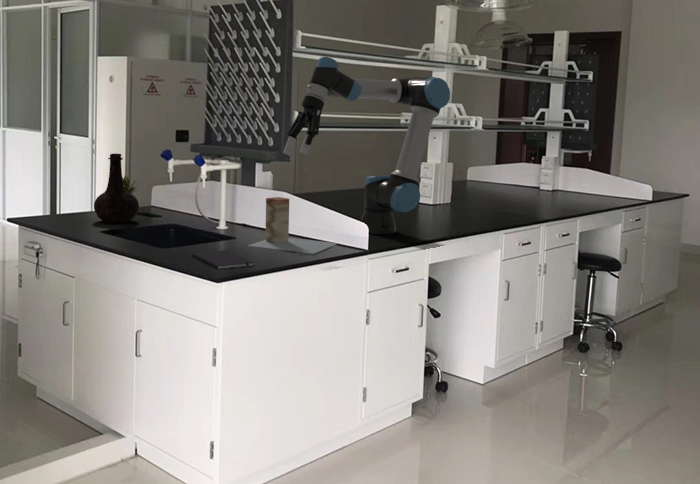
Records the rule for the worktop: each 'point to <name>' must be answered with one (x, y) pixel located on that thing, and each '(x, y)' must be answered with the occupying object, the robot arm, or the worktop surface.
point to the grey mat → (297, 245)
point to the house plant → (126, 185)
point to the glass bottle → (116, 197)
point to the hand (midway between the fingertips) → (294, 153)
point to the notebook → (222, 259)
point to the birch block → (277, 219)
